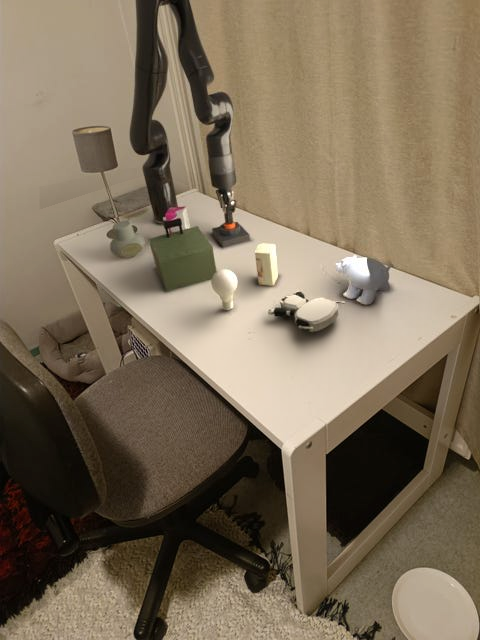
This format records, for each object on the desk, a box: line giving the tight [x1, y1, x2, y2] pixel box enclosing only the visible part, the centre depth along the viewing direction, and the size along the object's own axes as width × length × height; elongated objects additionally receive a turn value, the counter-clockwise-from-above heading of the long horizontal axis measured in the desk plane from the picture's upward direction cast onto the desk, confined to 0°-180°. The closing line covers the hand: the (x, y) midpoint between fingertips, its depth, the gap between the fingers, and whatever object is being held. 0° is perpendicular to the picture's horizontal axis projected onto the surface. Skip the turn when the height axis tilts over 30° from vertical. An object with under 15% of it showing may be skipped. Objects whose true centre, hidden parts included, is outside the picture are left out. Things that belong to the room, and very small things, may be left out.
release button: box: [223, 220, 236, 229], centre depth 140 cm, size 4×4×2 cm
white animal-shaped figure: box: [334, 254, 394, 306], centre depth 108 cm, size 11×15×10 cm
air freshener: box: [109, 220, 146, 258], centre depth 139 cm, size 11×8×10 cm
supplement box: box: [165, 206, 191, 233], centre depth 140 cm, size 6×6×12 cm
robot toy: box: [267, 290, 346, 333], centre depth 103 cm, size 12×4×15 cm
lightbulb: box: [210, 268, 238, 311], centre depth 108 cm, size 6×6×11 cm
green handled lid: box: [148, 218, 214, 263], centre depth 121 cm, size 15×15×5 cm
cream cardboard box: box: [254, 242, 279, 287], centre depth 116 cm, size 5×4×10 cm
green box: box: [149, 243, 218, 292], centre depth 125 cm, size 14×15×9 cm
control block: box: [211, 221, 251, 249], centre depth 141 cm, size 11×9×4 cm
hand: (229, 223), depth 139 cm, fingers closed
